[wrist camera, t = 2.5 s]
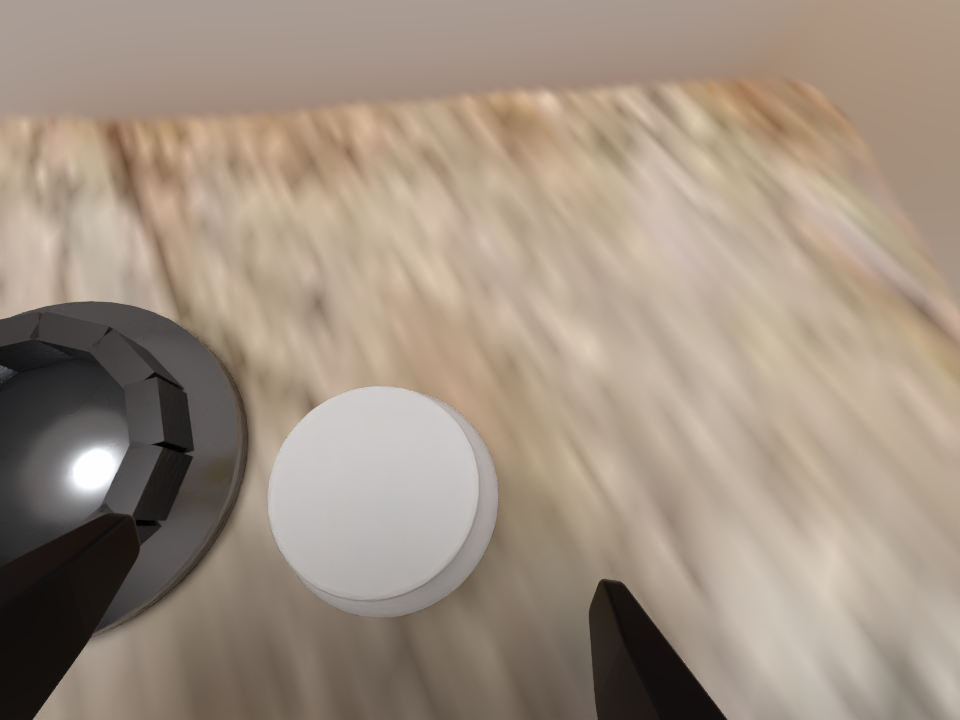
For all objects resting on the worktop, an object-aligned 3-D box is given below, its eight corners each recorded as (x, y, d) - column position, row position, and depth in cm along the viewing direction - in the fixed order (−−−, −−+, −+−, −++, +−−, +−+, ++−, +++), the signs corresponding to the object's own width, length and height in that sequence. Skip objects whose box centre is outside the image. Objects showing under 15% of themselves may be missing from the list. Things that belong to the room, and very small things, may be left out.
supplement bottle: (484, 577, 17) (537, 628, 8) (333, 595, 17) (212, 672, 8) (470, 431, 19) (501, 343, 10) (333, 442, 19) (234, 359, 10)
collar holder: (13, 741, 15) (-95, 794, 12) (-183, 471, 17) (-319, 459, 14) (314, 454, 18) (290, 440, 15) (123, 261, 20) (68, 215, 17)
